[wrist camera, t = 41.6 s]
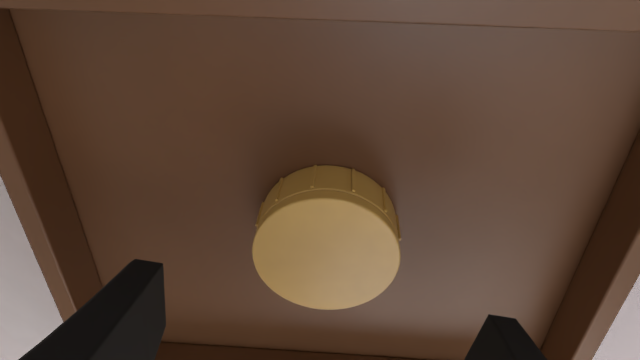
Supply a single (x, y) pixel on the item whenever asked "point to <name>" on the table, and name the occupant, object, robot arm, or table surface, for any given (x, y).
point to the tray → (332, 161)
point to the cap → (327, 238)
